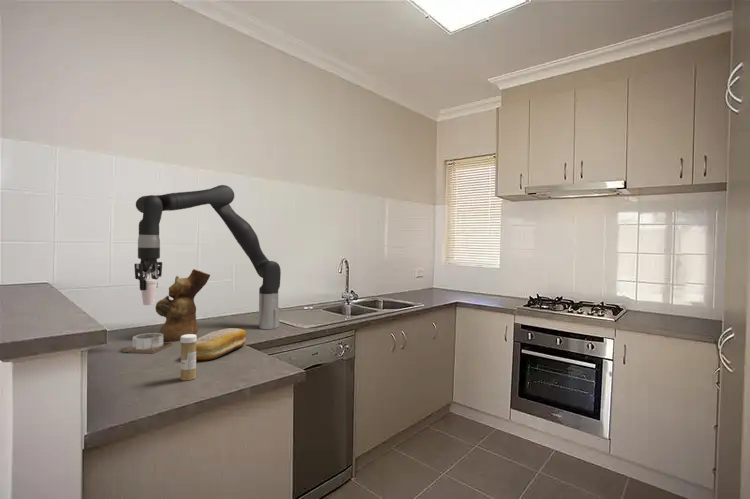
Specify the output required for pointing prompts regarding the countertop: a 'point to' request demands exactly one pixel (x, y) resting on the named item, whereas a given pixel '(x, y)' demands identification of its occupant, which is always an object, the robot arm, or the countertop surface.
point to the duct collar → (147, 343)
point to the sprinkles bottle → (188, 356)
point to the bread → (219, 343)
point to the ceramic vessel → (181, 306)
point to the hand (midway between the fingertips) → (148, 289)
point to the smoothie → (149, 291)
